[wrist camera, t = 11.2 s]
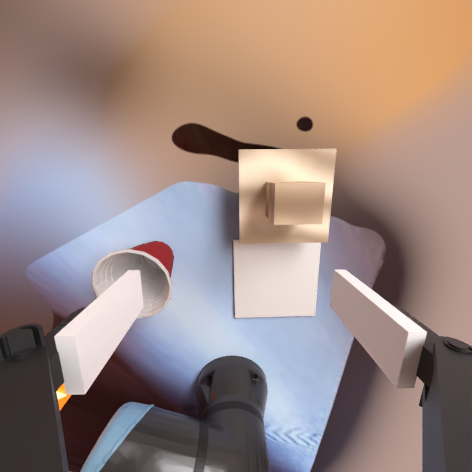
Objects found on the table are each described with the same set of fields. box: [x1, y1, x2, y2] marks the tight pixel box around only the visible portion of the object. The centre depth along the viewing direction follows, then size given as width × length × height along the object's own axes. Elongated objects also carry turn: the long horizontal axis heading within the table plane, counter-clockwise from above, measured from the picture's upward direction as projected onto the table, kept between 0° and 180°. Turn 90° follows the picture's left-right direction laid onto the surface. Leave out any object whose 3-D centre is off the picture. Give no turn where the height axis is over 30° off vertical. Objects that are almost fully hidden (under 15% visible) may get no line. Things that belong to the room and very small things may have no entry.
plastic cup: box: [92, 241, 174, 319], centre depth 37 cm, size 11×11×12 cm
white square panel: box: [233, 240, 321, 318], centre depth 44 cm, size 16×16×1 cm
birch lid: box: [239, 149, 336, 244], centre depth 31 cm, size 14×14×8 cm
